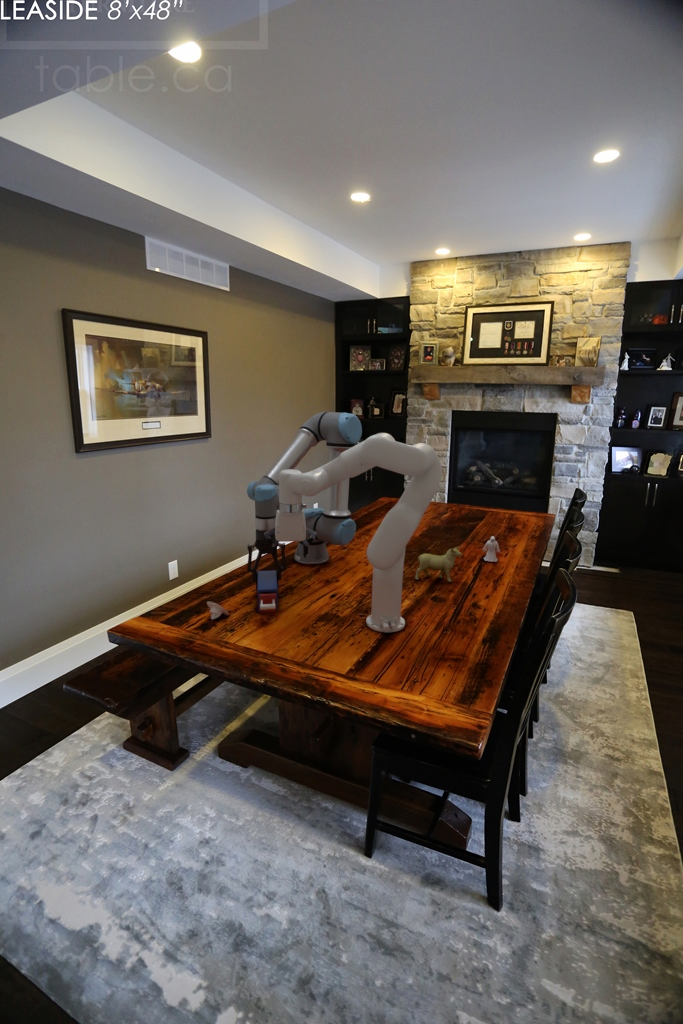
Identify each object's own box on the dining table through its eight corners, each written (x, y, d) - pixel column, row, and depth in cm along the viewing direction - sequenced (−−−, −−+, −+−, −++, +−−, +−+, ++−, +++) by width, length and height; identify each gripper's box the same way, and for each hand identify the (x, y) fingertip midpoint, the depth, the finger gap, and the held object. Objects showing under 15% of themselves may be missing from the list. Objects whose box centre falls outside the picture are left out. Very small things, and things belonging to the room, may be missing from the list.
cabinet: (277, 611, 171) (277, 589, 169) (257, 612, 170) (257, 589, 168) (276, 590, 188) (276, 570, 186) (258, 591, 186) (257, 571, 185)
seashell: (213, 627, 166) (197, 609, 165) (224, 617, 169) (208, 599, 168) (221, 623, 159) (205, 604, 159) (233, 612, 163) (217, 594, 162)
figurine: (481, 562, 222) (483, 536, 219) (482, 556, 230) (484, 531, 227) (499, 564, 220) (501, 538, 217) (499, 558, 228) (501, 533, 225)
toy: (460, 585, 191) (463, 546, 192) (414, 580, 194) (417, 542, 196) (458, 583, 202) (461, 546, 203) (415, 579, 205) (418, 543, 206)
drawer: (276, 620, 162) (276, 602, 160) (259, 620, 161) (259, 603, 160) (274, 592, 184) (274, 576, 182) (259, 593, 183) (259, 577, 181)
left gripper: (293, 525, 183) (293, 583, 188) (238, 526, 180) (240, 585, 185) (294, 530, 176) (294, 591, 181) (237, 532, 173) (239, 594, 178)
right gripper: (315, 504, 169) (314, 552, 173) (263, 505, 166) (264, 553, 171) (318, 510, 162) (317, 559, 166) (264, 510, 159) (264, 561, 163)
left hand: (267, 588), depth 183 cm, fingers closed on cabinet, 7 cm apart
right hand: (290, 556), depth 168 cm, fingers open, 9 cm apart
